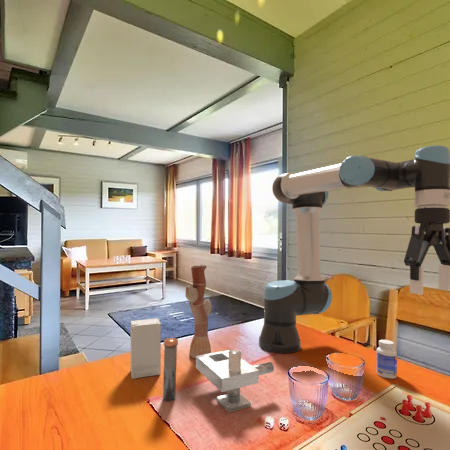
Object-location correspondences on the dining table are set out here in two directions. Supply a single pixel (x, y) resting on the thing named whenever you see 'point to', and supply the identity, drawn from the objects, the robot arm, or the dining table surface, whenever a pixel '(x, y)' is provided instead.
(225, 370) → the square pedestal tray
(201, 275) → the tan tall irregular piece
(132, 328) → the skincare box
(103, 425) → the dining table surface
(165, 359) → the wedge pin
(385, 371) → the pill bottle
